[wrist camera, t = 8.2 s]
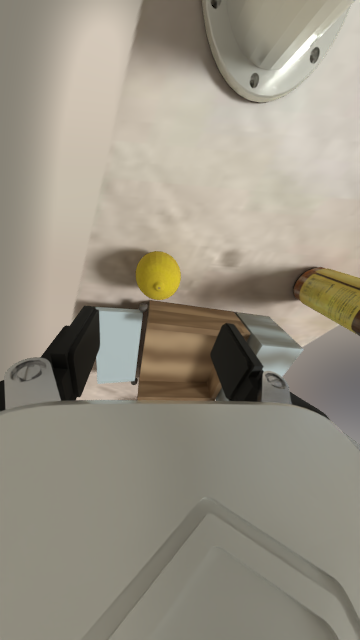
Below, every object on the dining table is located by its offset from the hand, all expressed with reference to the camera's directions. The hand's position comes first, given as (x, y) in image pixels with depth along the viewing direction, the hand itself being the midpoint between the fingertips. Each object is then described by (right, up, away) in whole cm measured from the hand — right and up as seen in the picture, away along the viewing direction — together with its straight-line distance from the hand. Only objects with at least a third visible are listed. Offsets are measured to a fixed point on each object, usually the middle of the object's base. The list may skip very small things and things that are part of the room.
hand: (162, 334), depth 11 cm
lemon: (-2, +9, +13) cm, 16 cm away
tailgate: (-6, -4, +18) cm, 19 cm away
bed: (+5, -4, +23) cm, 23 cm away
